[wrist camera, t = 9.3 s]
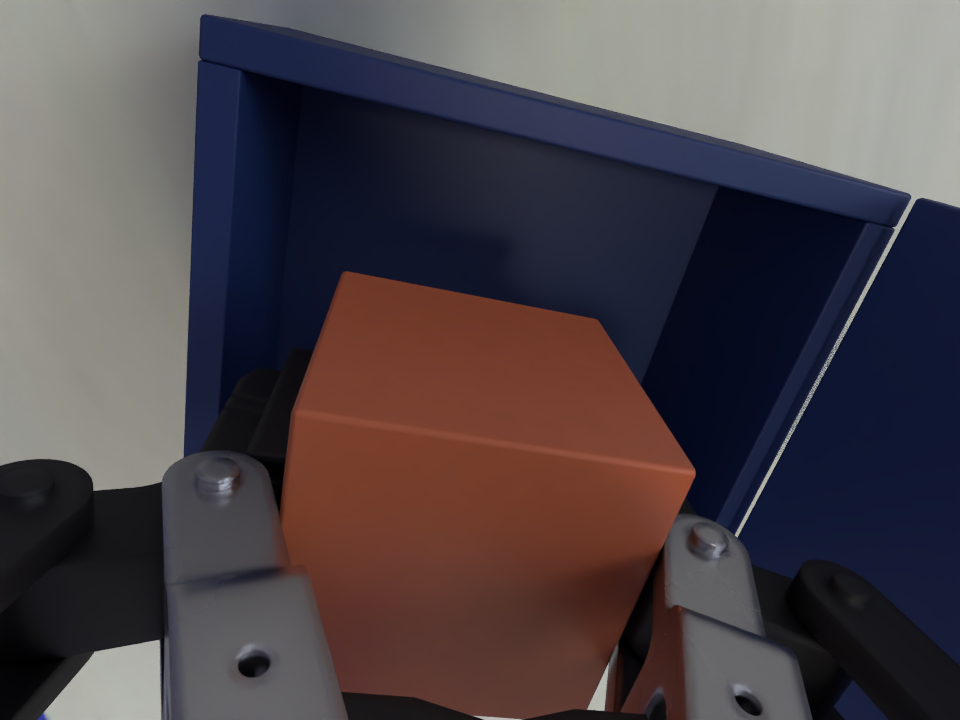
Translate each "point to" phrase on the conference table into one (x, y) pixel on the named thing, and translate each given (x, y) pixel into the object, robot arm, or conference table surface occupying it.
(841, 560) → the case lid
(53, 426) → the conference table surface
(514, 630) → the cube
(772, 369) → the case
